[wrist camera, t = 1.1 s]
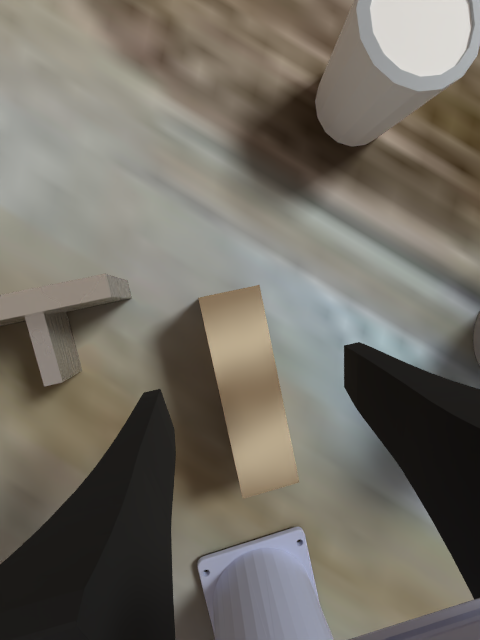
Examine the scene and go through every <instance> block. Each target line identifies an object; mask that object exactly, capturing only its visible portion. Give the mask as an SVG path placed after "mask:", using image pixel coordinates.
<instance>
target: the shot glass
mask: <svg viewBox="0 0 480 640" xmlns="http://www.w3.org/2000/svg"><path fill="white" fill-rule="evenodd" d="M479 46H480V0H354V2H353V5H352V7H351V9H350V12H349V14H348V16H347V19H346V21H345V24H344V26H343V28H342V31H341V33H340V36H339V38H338V40H337V43H336V45H335V48H334V50H333V52H332V55H331V57H330V60H329V62H328V64H327V67H326V69H325V72H324V74H323V76H322V79H321V81H320V84H319V86H318V91H317V95H316V100H315V105H316V112H317V118H318V120H319V122H320V123H321V125H322V127H323V129H324V131H325V132H326V133H327V134H328V135H329V136H330V137H332V138H333V139H334V140H335V141H336V142H338V143H341V144H344V145H348V146H351V147H353V146H361V145H366V144H368V143H369V142H371V141H373V140H374V139H376V138H378V137H379V136H380V135H382V134H383V133H385V132H386V131H387V130H389V129H390V128H392V127H393V126H394V125H396V124H397V123H398V122H400V121H401V120H403V119H404V118H405V117H407V116H408V115H410V114H411V113H412V112H414V111H415V110H417V109H418V108H419V107H421V106H422V105H424V104H425V103H426V102H428V101H429V100H431V99H432V98H433V97H435V96H436V95H437V94H439V93H440V92H442V91H443V90H444V89H446V88H447V87H449V86H450V85H451V84H453V83H454V82H456V81H457V80H458V79H460V78H461V77H463V75H464V74H465V72H466V71H467V69H468V68H469V67H470V65H471V64H472V62H473V61H474V59H475V58H476V56H477V54H478V50H479Z"/></svg>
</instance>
